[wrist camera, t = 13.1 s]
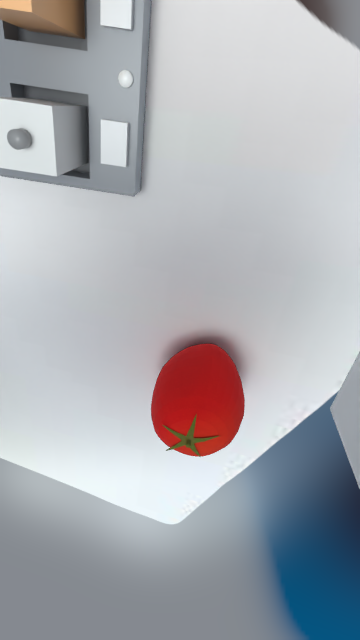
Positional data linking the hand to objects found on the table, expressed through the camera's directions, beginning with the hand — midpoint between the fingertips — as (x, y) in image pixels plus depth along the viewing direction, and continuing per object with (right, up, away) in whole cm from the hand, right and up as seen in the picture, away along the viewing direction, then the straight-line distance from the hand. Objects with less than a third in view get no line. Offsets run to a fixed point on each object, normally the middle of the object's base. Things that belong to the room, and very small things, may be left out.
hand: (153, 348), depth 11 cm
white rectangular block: (-11, +20, +23) cm, 32 cm away
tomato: (+4, -5, +37) cm, 38 cm away
